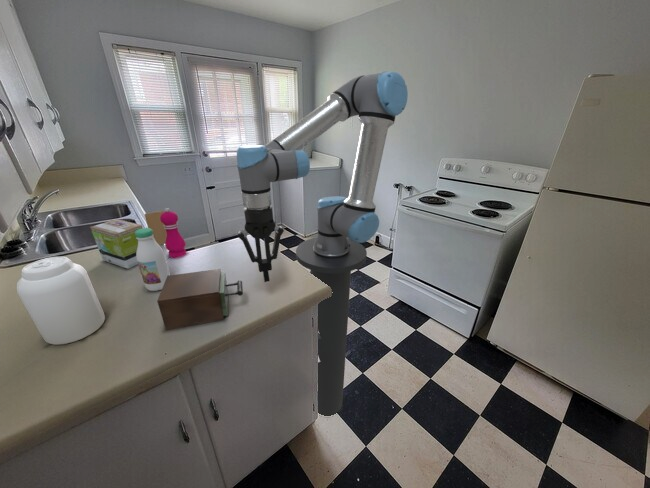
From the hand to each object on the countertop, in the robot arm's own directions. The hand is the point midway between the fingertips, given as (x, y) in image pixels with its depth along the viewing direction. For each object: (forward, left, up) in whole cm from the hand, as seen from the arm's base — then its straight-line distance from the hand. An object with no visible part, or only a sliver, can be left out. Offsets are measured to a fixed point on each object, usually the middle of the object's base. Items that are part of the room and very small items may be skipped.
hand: (266, 279), depth 83 cm
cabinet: (+21, +1, -7) cm, 22 cm away
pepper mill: (+33, -40, -7) cm, 52 cm away
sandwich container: (+43, -60, -7) cm, 74 cm away
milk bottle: (+35, -17, -7) cm, 39 cm away
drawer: (+16, +1, -6) cm, 17 cm away
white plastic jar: (+51, 0, -7) cm, 51 cm away
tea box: (+51, -40, -7) cm, 65 cm away
